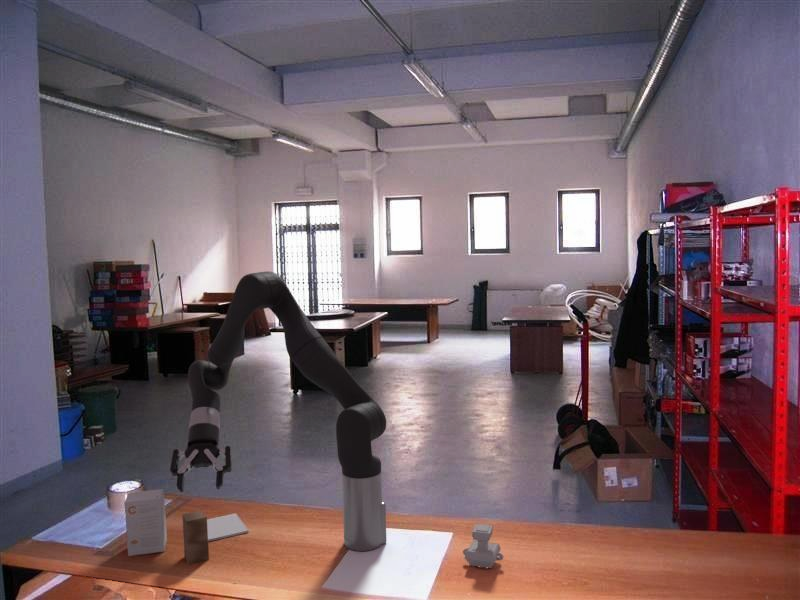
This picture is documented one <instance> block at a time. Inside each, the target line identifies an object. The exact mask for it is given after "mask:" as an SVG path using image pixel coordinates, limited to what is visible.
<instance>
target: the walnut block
mask: <svg viewBox="0 0 800 600" xmlns="http://www.w3.org/2000/svg"><path fill="white" fill-rule="evenodd" d="M207 519H208V517H207V515H206V514H205V511H204V510H202V509H201V510H197V511H192V512H188V513H187V512H186V513H183V514H182V533H183V550H184V553H183V554H184V558H185V561H186V563H187V562H188V563H187V565H188V564H189V565H192V564H193V565H194V564H196V563H197V564H198V563H201V562H205V561H209V560H210V557H209V556H210V554H209V551H210V550H209V542H208V530H207Z"/></svg>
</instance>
